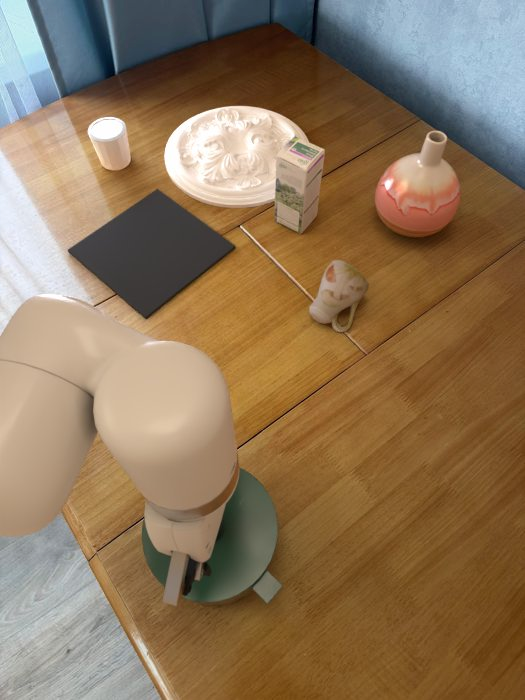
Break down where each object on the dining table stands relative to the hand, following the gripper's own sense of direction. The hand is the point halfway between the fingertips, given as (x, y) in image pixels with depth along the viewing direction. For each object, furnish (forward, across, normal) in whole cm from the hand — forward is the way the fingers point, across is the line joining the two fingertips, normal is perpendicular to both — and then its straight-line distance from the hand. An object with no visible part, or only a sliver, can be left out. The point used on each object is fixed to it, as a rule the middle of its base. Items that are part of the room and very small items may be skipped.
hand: (209, 519), depth 53 cm
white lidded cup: (+14, -63, -38) cm, 75 cm away
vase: (+14, -60, +18) cm, 64 cm away
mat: (+14, -44, -24) cm, 51 cm away
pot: (+14, 0, 0) cm, 14 cm away
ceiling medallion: (+14, -70, -16) cm, 73 cm away
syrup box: (+14, -56, -2) cm, 58 cm away
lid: (+5, 0, 0) cm, 5 cm away
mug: (+14, -39, +8) cm, 42 cm away
